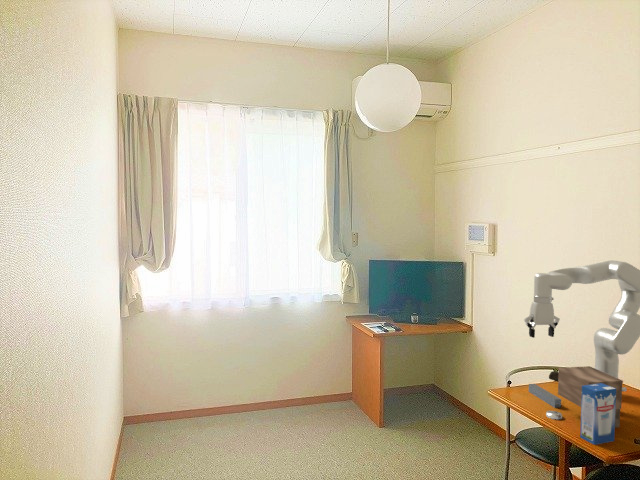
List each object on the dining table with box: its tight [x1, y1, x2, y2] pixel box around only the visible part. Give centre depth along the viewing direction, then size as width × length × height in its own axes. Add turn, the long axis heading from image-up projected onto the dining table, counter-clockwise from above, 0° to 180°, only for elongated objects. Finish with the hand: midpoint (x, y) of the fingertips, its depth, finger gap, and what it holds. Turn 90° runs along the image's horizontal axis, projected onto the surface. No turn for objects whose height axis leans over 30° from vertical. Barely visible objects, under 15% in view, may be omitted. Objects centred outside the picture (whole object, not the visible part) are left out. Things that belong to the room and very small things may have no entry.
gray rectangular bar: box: [528, 383, 562, 409], centre depth 221 cm, size 3×20×4 cm, turn 8°
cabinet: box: [557, 366, 624, 429], centre depth 199 cm, size 15×19×19 cm
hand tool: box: [548, 370, 559, 382], centre depth 245 cm, size 19×4×5 cm, turn 58°
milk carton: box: [579, 383, 616, 446], centre depth 181 cm, size 10×6×20 cm, turn 108°
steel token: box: [545, 410, 563, 421], centre depth 202 cm, size 6×6×2 cm
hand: (541, 336), depth 223 cm, fingers open, 9 cm apart
